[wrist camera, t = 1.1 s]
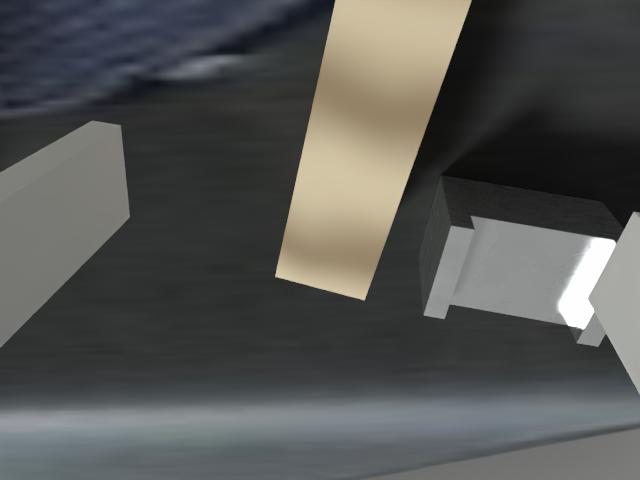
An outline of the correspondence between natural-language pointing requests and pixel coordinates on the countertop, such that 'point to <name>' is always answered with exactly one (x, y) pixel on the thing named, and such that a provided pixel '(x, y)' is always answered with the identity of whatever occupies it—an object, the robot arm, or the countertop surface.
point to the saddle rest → (516, 253)
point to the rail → (365, 136)
